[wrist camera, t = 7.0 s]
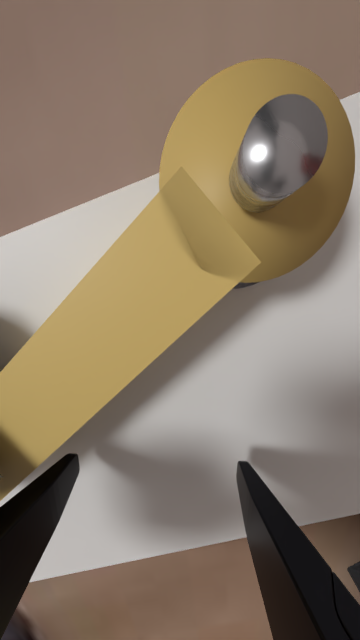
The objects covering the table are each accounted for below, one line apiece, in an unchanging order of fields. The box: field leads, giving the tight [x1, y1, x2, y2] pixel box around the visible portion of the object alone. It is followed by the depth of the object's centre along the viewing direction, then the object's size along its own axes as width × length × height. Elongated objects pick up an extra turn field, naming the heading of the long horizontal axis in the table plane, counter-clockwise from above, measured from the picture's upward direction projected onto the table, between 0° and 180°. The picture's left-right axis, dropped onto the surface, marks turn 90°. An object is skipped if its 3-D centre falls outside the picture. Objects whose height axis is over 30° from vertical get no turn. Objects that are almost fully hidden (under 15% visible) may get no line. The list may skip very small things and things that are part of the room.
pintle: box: [229, 94, 328, 289], centre depth 5 cm, size 5×5×3 cm
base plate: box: [0, 92, 360, 582], centre depth 9 cm, size 18×26×1 cm
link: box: [0, 58, 355, 501], centre depth 6 cm, size 16×5×2 cm, turn 134°
